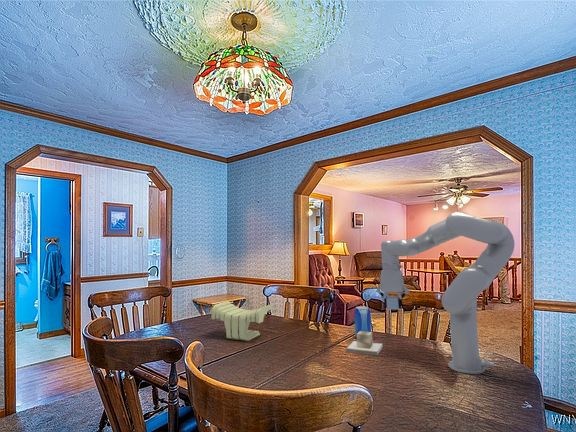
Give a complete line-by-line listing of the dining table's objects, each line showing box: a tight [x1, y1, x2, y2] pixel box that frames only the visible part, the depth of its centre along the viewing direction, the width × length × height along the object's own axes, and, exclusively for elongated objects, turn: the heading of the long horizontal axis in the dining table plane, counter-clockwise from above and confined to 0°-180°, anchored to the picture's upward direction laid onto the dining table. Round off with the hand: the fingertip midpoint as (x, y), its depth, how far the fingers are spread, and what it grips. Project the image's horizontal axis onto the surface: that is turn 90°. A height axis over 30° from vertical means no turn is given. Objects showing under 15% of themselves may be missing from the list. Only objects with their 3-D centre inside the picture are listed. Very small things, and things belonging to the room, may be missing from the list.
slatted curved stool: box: [211, 300, 274, 342], centre depth 183 cm, size 30×16×18 cm, turn 66°
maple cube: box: [356, 331, 374, 349], centre depth 156 cm, size 6×6×6 cm
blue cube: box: [386, 295, 401, 311], centre depth 151 cm, size 5×5×5 cm
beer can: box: [353, 305, 372, 339], centre depth 175 cm, size 8×8×16 cm
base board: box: [345, 340, 384, 357], centre depth 156 cm, size 14×14×2 cm
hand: (393, 307), depth 150 cm, fingers closed on blue cube, 5 cm apart
